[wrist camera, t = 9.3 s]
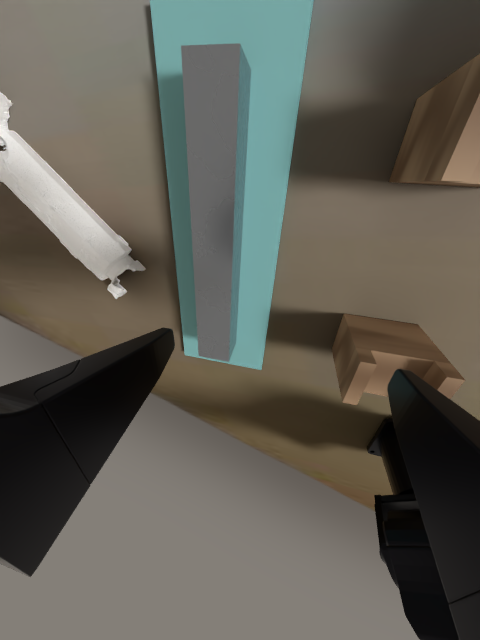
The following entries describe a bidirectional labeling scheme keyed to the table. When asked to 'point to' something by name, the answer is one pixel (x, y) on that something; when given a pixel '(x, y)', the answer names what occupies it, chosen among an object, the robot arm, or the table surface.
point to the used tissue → (62, 208)
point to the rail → (216, 185)
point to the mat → (262, 146)
